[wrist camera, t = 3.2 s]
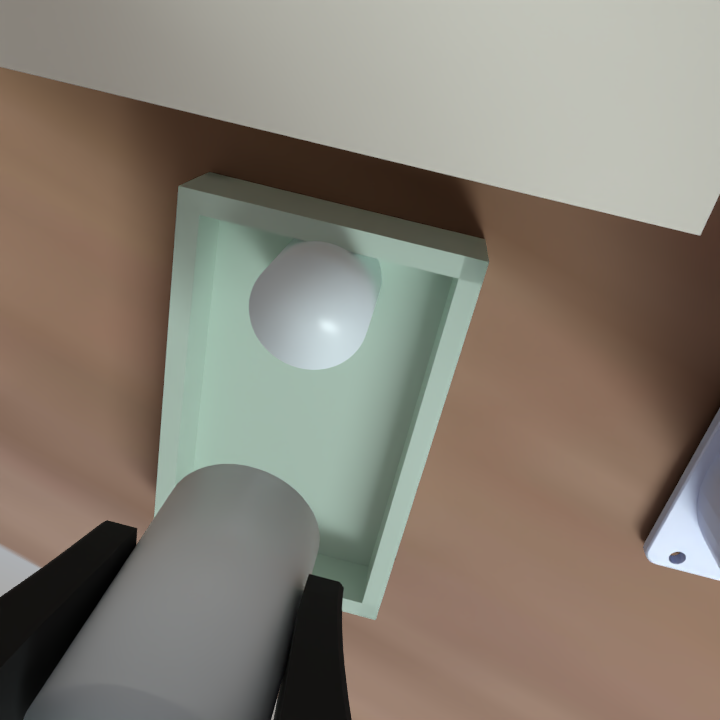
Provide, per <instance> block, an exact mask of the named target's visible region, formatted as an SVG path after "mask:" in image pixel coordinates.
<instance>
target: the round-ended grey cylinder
mask: <svg viewBox="0 0 720 720" xmlns="http://www.w3.org/2000/svg"><path fill="white" fill-rule="evenodd" d="M319 543H320V534H319V528H318V524H317V521H316V518H315V516H314V513H313V512H312V510H311V508H310V507H309V505H308V504H307V502H306V501H305V500H304V498H303V497H302V496H301V495H300V494H299V493H298V492H297V491H296V490H295V489H293V488H292V487H291V486H290V485H289V484H287V483H286V482H284V481H283V480H281V479H280V478H278V477H276V476H274V475H272V474H270V473H268V472H265V471H263V470H260V469H257V468H254V467H250V466H245V465H239V464H216V465H211V466H206V467H203V468H200V469H198V470H196V471H194V472H192V473H190V474H188V475H187V476H185V477H184V478H183V479H182V480H181V481H180V482H179V483H178V484H177V485H176V486H175V488H174V489H173V490H172V492H171V493H170V495H169V496H168V498H167V499H166V501H165V503H164V504H163V506H162V507H161V509H160V510H159V512H158V513H157V515H156V516H155V518H154V519H153V521H152V522H151V524H150V525H149V527H148V528H147V530H146V531H145V533H144V534H143V536H142V537H141V539H140V540H139V542H138V543H137V545H136V546H135V548H134V549H133V551H132V553H131V554H130V556H129V557H128V559H127V560H126V562H125V563H124V565H123V566H122V568H121V569H120V571H119V572H118V574H117V575H116V577H115V578H114V580H113V581H112V583H111V584H110V586H109V587H108V589H107V590H106V592H105V593H104V595H103V596H102V598H101V599H100V601H99V602H98V604H97V606H96V607H95V609H94V610H93V612H92V613H91V615H90V616H89V618H88V619H87V621H86V622H85V624H84V625H83V627H82V628H81V630H80V631H79V633H78V634H77V636H76V637H75V639H74V640H73V642H72V643H71V645H70V646H69V648H68V649H67V651H66V652H65V654H64V656H63V657H62V659H61V660H60V662H59V663H58V665H57V666H56V668H55V669H54V671H53V672H52V674H51V675H50V677H49V678H48V680H47V681H46V683H45V684H44V686H43V687H42V689H41V690H40V692H39V693H38V695H37V696H36V698H35V699H34V701H33V702H32V704H31V705H30V707H29V709H28V710H27V712H26V714H25V716H24V719H23V720H271V717H272V714H273V710H274V707H275V703H276V700H277V696H278V693H279V689H280V685H281V682H282V678H283V675H284V671H285V668H286V664H287V659H288V654H289V649H290V644H291V639H292V634H293V630H294V625H295V621H296V617H297V612H298V608H299V604H300V601H301V598H302V594H303V591H304V588H305V585H306V581H307V578H308V575H309V574H312V571H313V568H314V564H315V560H316V557H317V553H318V549H319Z"/></svg>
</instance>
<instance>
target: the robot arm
mask: <svg viewBox="0 0 720 720" xmlns="http://www.w3.org/2000/svg"><path fill="white" fill-rule="evenodd" d="M136 538H137V528H134V527H130V526H126V525H122V524H119V523H115V522H111V521H105V522H103V523H101V524H100V525H99V526H97V527H96V528H95V529H93V530H92V531H91V532H89V533H88V534H87V535H85V536H84V537H83V538H82V539H80V540H79V541H78V542H76V543H75V544H74V545H72V546H71V547H70V548H68V549H67V550H66V551H64V552H63V553H62V554H60V555H59V556H58V557H56V558H55V559H53V560H52V561H51V562H49V563H48V564H47V565H45V566H44V567H43V568H41V569H40V570H38V571H37V572H36V573H34V574H33V575H31V576H30V577H28V578H27V579H25V580H24V581H23V582H21V583H20V584H18V585H17V586H15V587H14V588H13V589H11V590H10V591H8V592H7V593H5V594H4V595H3V596H1V597H0V720H23V719H24V716H25V714H26V712H27V710H28V709H29V707H30V705H31V704H32V702H33V701H34V699H35V698H36V696H37V695H38V693H39V692H40V690H41V689H42V687H43V686H44V684H45V683H46V681H47V680H48V678H49V677H50V675H51V674H52V672H53V671H54V669H55V668H56V666H57V665H58V663H59V662H60V660H61V659H62V657H63V656H64V654H65V652H66V651H67V649H68V648H69V646H70V645H71V643H72V642H73V640H74V639H75V637H76V636H77V634H78V633H79V631H80V630H81V628H82V627H83V625H84V624H85V622H86V621H87V619H88V618H89V616H90V615H91V613H92V612H93V610H94V609H95V607H96V606H97V604H98V602H99V601H100V599H101V598H102V596H103V595H104V593H105V592H106V590H107V589H108V587H109V586H110V584H111V583H112V581H113V580H114V578H115V577H116V575H117V574H118V572H119V571H120V569H121V568H122V566H123V565H124V563H125V562H126V560H127V559H128V557H129V556H130V554H131V553H132V551H133V549H134V548H135V546H136ZM643 548H644V552H645V555H646V557H647V559H648V560H649V561H650V562H652V563H654V564H657V565H661V566H665V567H669V568H673V569H677V570H681V571H685V572H688V573H692V574H696V575H700V576H704V577H708V578H712V579H715V580H719V581H720V408H719V410H718V412H717V414H716V415H715V417H714V419H713V421H712V423H711V424H710V426H709V428H708V430H707V432H706V433H705V435H704V437H703V439H702V441H701V442H700V444H699V446H698V448H697V450H696V451H695V453H694V455H693V457H692V458H691V460H690V462H689V464H688V466H687V467H686V469H685V471H684V473H683V475H682V476H681V478H680V480H679V482H678V484H677V485H676V487H675V489H674V491H673V493H672V494H671V496H670V498H669V500H668V501H667V503H666V505H665V507H664V509H663V510H662V512H661V514H660V516H659V518H658V519H657V521H656V523H655V525H654V527H653V528H652V530H651V532H650V534H649V536H648V537H647V539H646V541H645V543H644V546H643ZM674 552H680V553H679V554H678V555H675V556H674V555H671V554H672V553H674ZM343 591H344V587H343V586H342V584H341V583H340V582H338V581H335V580H331V579H327V578H323V577H320V576H316V575H312V574H309V575H308V578H307V581H306V585H305V588H304V591H303V594H302V598H301V601H300V604H299V608H298V612H297V617H296V621H295V625H294V630H293V634H292V639H291V644H290V649H289V654H288V659H287V664H286V668H285V671H284V675H283V678H282V682H281V686H280V690H279V695H278V699H277V704H276V710H275V715H274V720H351V713H350V707H349V700H348V692H347V683H346V675H345V666H344V655H343V638H342V601H343Z"/></svg>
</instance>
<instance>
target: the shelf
mask: <svg viewBox="0 0 720 720" xmlns="http://www.w3.org/2000/svg"><path fill="white" fill-rule="evenodd" d="M0 67H3V68H7V69H11V70H16V71H20V72H24V73H28V74H32V75H36V76H40V77H45V78H49V79H53V80H57V81H61V82H65V83H69V84H74V85H78V86H82V87H86V88H90V89H94V90H98V91H103V92H107V93H111V94H115V95H119V96H123V97H127V98H132V99H136V100H140V101H144V102H148V103H152V104H156V105H161V106H165V107H169V108H173V109H177V110H181V111H185V112H190V113H194V114H198V115H202V116H206V117H210V118H214V119H219V120H223V121H227V122H231V123H235V124H239V125H243V126H248V127H252V128H256V129H260V130H264V131H268V132H272V133H277V134H281V135H285V136H289V137H293V138H297V139H301V140H306V141H310V142H314V143H318V144H322V145H326V146H330V147H335V148H339V149H343V150H347V151H351V152H355V153H359V154H364V155H368V156H372V157H376V158H380V159H384V160H388V161H393V162H397V163H401V164H405V165H409V166H413V167H417V168H422V169H426V170H430V171H434V172H438V173H442V174H446V175H451V176H455V177H459V178H463V179H467V180H471V181H475V182H480V183H484V184H488V185H492V186H496V187H500V188H504V189H509V190H513V191H517V192H521V193H525V194H529V195H533V196H538V197H542V198H546V199H550V200H554V201H558V202H562V203H567V204H571V205H575V206H579V207H583V208H587V209H591V210H596V211H600V212H604V213H608V214H612V215H616V216H620V217H625V218H629V219H633V220H637V221H641V222H645V223H649V224H654V225H658V226H662V227H666V228H670V229H674V230H678V231H683V232H687V233H691V234H695V235H699V236H700V235H701V233H702V231H703V229H704V227H705V224H706V222H707V220H708V218H709V216H710V214H711V212H712V209H713V207H714V205H715V203H716V201H717V199H718V197H719V195H720V0H0Z"/></svg>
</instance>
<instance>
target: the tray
mask: <svg viewBox="0 0 720 720" xmlns="http://www.w3.org/2000/svg"><path fill="white" fill-rule="evenodd" d="M488 264H489V259H488V253H487V247H486V241H485V239H482V238H478V237H474V236H469V235H465V234H461V233H457V232H453V231H449V230H445V229H441V228H437V227H433V226H429V225H424V224H420V223H416V222H412V221H408V220H404V219H400V218H396V217H392V216H388V215H383V214H379V213H375V212H371V211H367V210H363V209H359V208H355V207H351V206H347V205H343V204H338V203H334V202H330V201H326V200H322V199H318V198H314V197H310V196H306V195H302V194H297V193H293V192H289V191H285V190H281V189H277V188H273V187H269V186H265V185H261V184H257V183H252V182H248V181H244V180H240V179H236V178H232V177H228V176H224V175H220V174H216V173H211V172H208V173H206V174H204V175H202V176H199V177H197V178H195V179H193V180H191V181H188V182H186V183H184V184H182V185H179V186H178V200H177V213H176V227H175V241H174V254H173V268H172V282H171V295H170V309H169V322H168V336H167V350H166V363H165V377H164V391H163V404H162V418H161V431H160V445H159V459H158V472H157V486H156V500H155V513H154V518H155V516H156V515H157V513H158V512H159V510H160V509H161V507H162V506H163V504H164V503H165V501H166V499H167V498H168V496H169V495H170V493H171V492H172V490H173V489H174V488H175V486H176V485H177V484H178V483H179V482H180V481H181V480H182V479H183V478H184V477H185V476H187V475H188V474H190V473H192V472H194V471H196V470H198V469H200V468H203V467H206V466H211V465H216V464H239V465H245V466H250V467H254V468H257V469H260V470H263V471H265V472H268V473H270V474H272V475H274V476H276V477H278V478H280V479H281V480H283V481H284V482H286V483H287V484H289V485H290V486H291V487H292V488H293V489H295V490H296V491H297V492H298V493H299V494H300V495H301V496H302V497H303V498H304V500H305V501H306V502H307V504H308V505H309V507H310V508H311V510H312V512H313V513H314V516H315V518H316V521H317V524H318V528H319V534H320V543H319V549H318V553H317V557H316V560H315V564H314V568H313V571H312V575H316V576H320V577H323V578H327V579H331V580H335V581H338V582H340V583H341V584H342V586H343V587H344V591H343V601H342V611H344V612H347V613H351V614H355V615H359V616H363V617H366V618H370V619H374V620H376V617H377V614H378V611H379V607H380V604H381V601H382V598H383V595H384V592H385V589H386V585H387V582H388V579H389V576H390V573H391V570H392V566H393V563H394V560H395V557H396V554H397V551H398V548H399V544H400V541H401V538H402V535H403V532H404V529H405V525H406V522H407V519H408V516H409V513H410V510H411V507H412V503H413V500H414V497H415V494H416V491H417V488H418V485H419V481H420V478H421V475H422V472H423V469H424V466H425V462H426V459H427V456H428V453H429V450H430V447H431V444H432V440H433V437H434V434H435V431H436V428H437V425H438V421H439V418H440V415H441V412H442V409H443V406H444V403H445V399H446V396H447V393H448V390H449V387H450V384H451V380H452V377H453V374H454V371H455V368H456V365H457V362H458V358H459V355H460V352H461V349H462V346H463V343H464V340H465V336H466V333H467V330H468V327H469V324H470V321H471V317H472V314H473V311H474V308H475V305H476V302H477V299H478V295H479V292H480V289H481V286H482V283H483V280H484V276H485V273H486V270H487V267H488Z"/></svg>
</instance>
